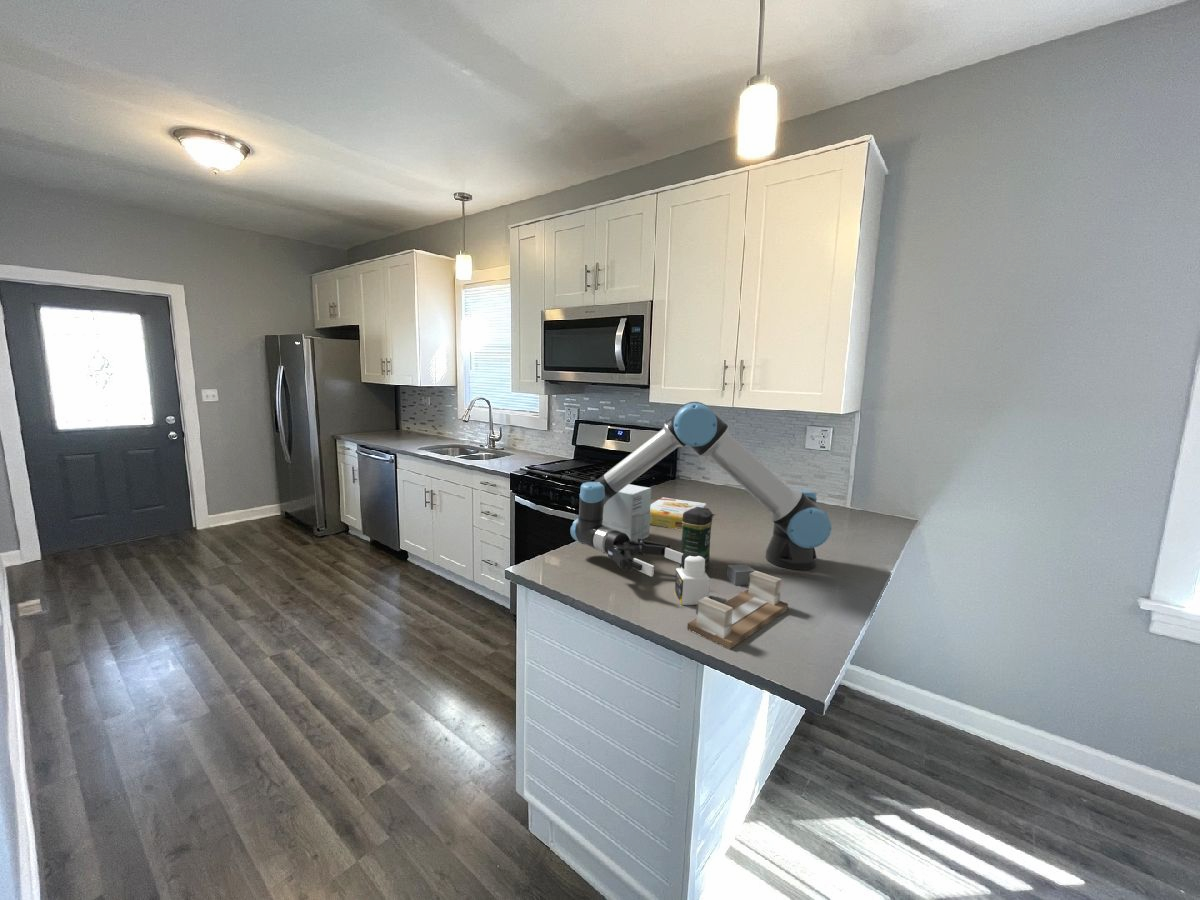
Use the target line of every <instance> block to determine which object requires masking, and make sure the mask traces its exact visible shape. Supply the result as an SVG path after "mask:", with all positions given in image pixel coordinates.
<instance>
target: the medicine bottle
mask: <svg viewBox="0 0 1200 900" xmlns="http://www.w3.org/2000/svg"><path fill="white" fill-rule="evenodd" d="M705 560H706V559H705V557H704V556H703V555H701V554H699V553H695V552H688V553H685V554H683V555H682V559H681V568H680V567H677V568H675V584H674V585H675V586H674V594H675V596H676V597H677V599H678V602H679V604H680V605H681V606H697V603H698V600H700V599H702V598H704V597H707V598H710V589H711V588H710V587H711V586H710V584H711V578H710V577H709V576H708V574H707V572H706V570H705Z"/></svg>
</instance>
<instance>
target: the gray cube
mask: <svg viewBox="0 0 1200 900" xmlns="http://www.w3.org/2000/svg"><path fill="white" fill-rule="evenodd" d="M726 569H727V571H726V579H727V580H728V579H729V580H730V582H731V583H732V584H733V585H734V586H744V585H748V579H749V576H750V573H752V572H754V571H756V570H755V569H754V568H752V567H751V566H750V565H749V564H747V563H745V564H727V567H726ZM729 580H728V581H729Z"/></svg>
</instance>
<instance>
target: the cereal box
mask: <svg viewBox="0 0 1200 900" xmlns="http://www.w3.org/2000/svg"><path fill="white" fill-rule="evenodd" d="M695 507H702V508H707V503H706V502H699V501H691V500H684V499H676V498H669V497H661V498H659V499H657V500H656V501H654V502H652V503H651V505H650V525H651V526H655V527H656V526H657V527H661V526H663V527H662V528H666V527H670V528H669V529H671V528H677V529H682V519H683V513H684V512H686V511H688V510H690V509H692V508H695ZM677 529H676V530H677Z"/></svg>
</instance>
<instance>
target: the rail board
mask: <svg viewBox="0 0 1200 900" xmlns="http://www.w3.org/2000/svg"><path fill="white" fill-rule="evenodd" d="M747 585H748V589H746V590H744V591H743V592H741V593H739V594H737V595H735V596H734V597H732V598H730V599H729V600H726V601H725V602H719V601H717V600H715V599H711V598H710V597H709V598H707V597H704V598H702V599H700V600H698V603H697V605H695V607H696V610H695V614H696V618H695V619H692V620H691V621H689V622H687V626H686V627H687V629H690V630H691V631H690V632H692V631H694V632H696V633H698V634H700V635H702V636H704V637H706V638H705V639H707V638H708V639H707V640H709V639H710V640H709V641H711V640H712V642H713V641H715V642H717V643H719V644H721V645H723V646H722V647H724V646H725V647H724V648H727V649H728V648H729V650H731V648H732V647H733V648H734V646H735V645H736V644H737V645H739V644H740V643H742V642H743V641H744V639H745V638H746V639H748V638H749V637H750V636H752V635H753V634H754V633H753V632H755V631H756V632H757V631H759V630H760V629H761V627H762V628H763V627H764V625H765V626H766V625H768V624H769V623H771V622H772V621H773V620H774V619H776V618H778V617H779V616H780V615H782V614H783V613H785V612H786V611H788V610H789V603H787V602H784V601H781V589H782V578H779V577H776V576H774V575H770V574H767V573H764V572H761V571H758V570H755V571H754V572H752V573H750V576H749V579H748V584H747ZM771 620H772V621H771ZM758 629H759V630H758ZM694 632H693V633H694ZM756 632H755V633H756ZM696 633H695V634H696ZM752 633H753V634H752ZM698 634H697V635H698ZM751 634H752V635H751ZM700 635H699V636H700ZM749 635H750V636H749ZM702 636H701V637H702ZM748 636H749V637H748ZM704 637H703V638H704ZM746 639H745V640H746ZM742 640H743V641H742ZM741 641H742V642H741ZM715 642H714V643H715ZM739 642H740V643H739ZM717 643H716V644H717ZM738 643H739V644H738ZM719 644H718V645H719ZM721 645H720V646H721ZM737 645H736V646H737ZM736 646H735V647H736ZM733 648H732V649H733Z"/></svg>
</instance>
